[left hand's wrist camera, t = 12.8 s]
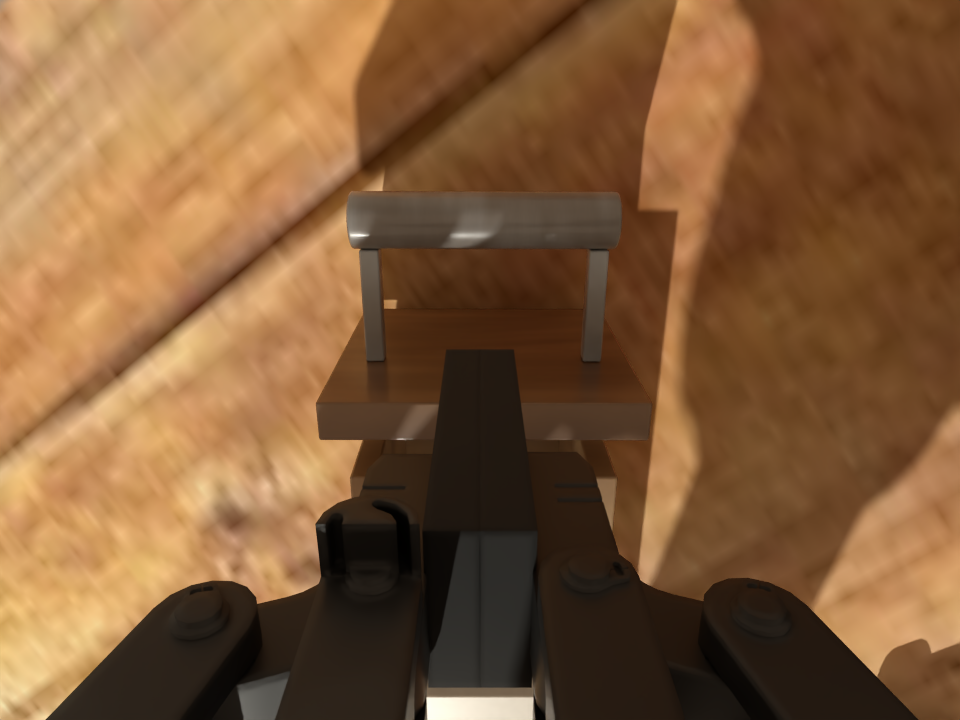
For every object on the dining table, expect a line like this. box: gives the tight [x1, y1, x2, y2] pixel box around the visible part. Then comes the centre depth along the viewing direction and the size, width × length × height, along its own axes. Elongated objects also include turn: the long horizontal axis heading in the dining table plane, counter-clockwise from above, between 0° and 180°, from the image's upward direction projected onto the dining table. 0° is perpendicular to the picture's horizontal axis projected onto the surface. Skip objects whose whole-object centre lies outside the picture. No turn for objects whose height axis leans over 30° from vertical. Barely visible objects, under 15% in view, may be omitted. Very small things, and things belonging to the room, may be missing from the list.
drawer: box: [316, 191, 652, 532], centre depth 25 cm, size 23×10×9 cm, turn 0°
